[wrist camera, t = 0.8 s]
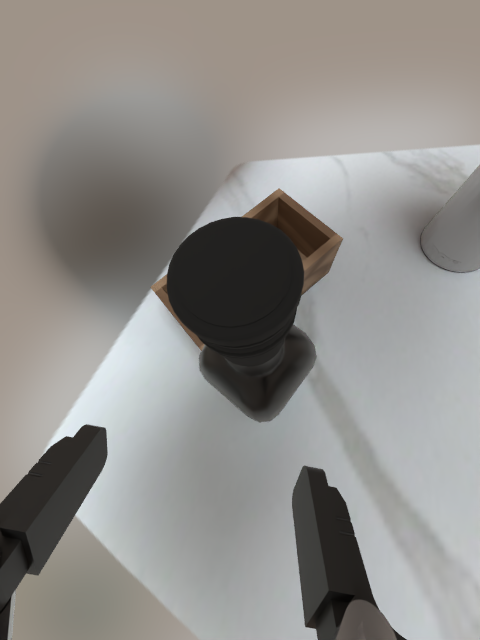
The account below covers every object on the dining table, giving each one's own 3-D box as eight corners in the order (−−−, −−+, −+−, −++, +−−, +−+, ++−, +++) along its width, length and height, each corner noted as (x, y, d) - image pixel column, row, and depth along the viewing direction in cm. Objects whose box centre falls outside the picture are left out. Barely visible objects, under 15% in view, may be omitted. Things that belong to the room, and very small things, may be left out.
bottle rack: (277, 228, 41) (279, 188, 34) (328, 272, 38) (342, 238, 30) (173, 310, 39) (150, 287, 31) (218, 365, 35) (204, 354, 28)
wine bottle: (268, 418, 32) (256, 490, 4) (233, 389, 34) (55, 297, 6) (294, 382, 33) (429, 241, 5) (260, 355, 35) (218, 138, 7)
